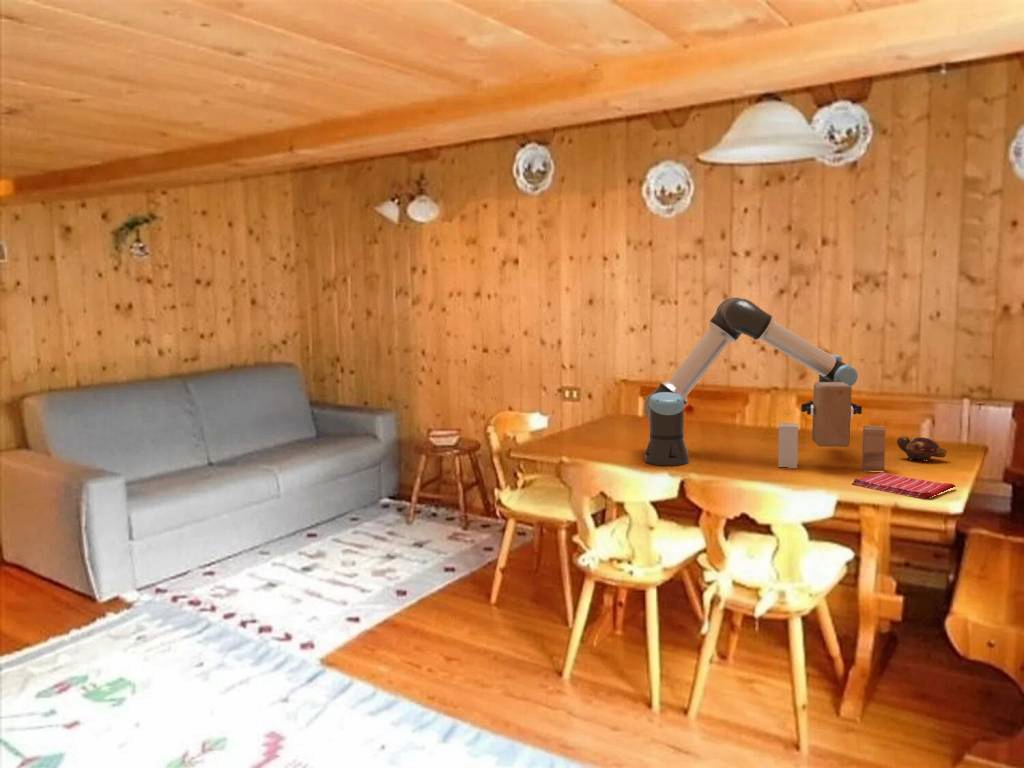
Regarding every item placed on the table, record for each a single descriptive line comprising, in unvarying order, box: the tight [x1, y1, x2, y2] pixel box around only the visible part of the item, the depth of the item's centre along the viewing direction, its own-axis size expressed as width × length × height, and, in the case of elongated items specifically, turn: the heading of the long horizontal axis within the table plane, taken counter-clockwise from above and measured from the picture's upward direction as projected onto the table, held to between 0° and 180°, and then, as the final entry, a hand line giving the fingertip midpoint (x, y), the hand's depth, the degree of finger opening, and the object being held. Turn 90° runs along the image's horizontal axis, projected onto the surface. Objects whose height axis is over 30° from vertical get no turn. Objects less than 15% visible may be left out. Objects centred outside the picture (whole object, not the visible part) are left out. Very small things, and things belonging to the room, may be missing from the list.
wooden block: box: [811, 381, 853, 448], centre depth 265 cm, size 10×10×20 cm
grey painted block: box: [777, 422, 799, 469], centre depth 270 cm, size 6×6×14 cm
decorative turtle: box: [896, 436, 948, 461], centre depth 274 cm, size 10×15×8 cm, turn 68°
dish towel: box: [851, 472, 957, 500], centre depth 241 cm, size 17×24×3 cm
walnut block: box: [861, 425, 886, 472], centre depth 262 cm, size 6×6×14 cm
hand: (831, 412), depth 261 cm, fingers closed on wooden block, 11 cm apart
